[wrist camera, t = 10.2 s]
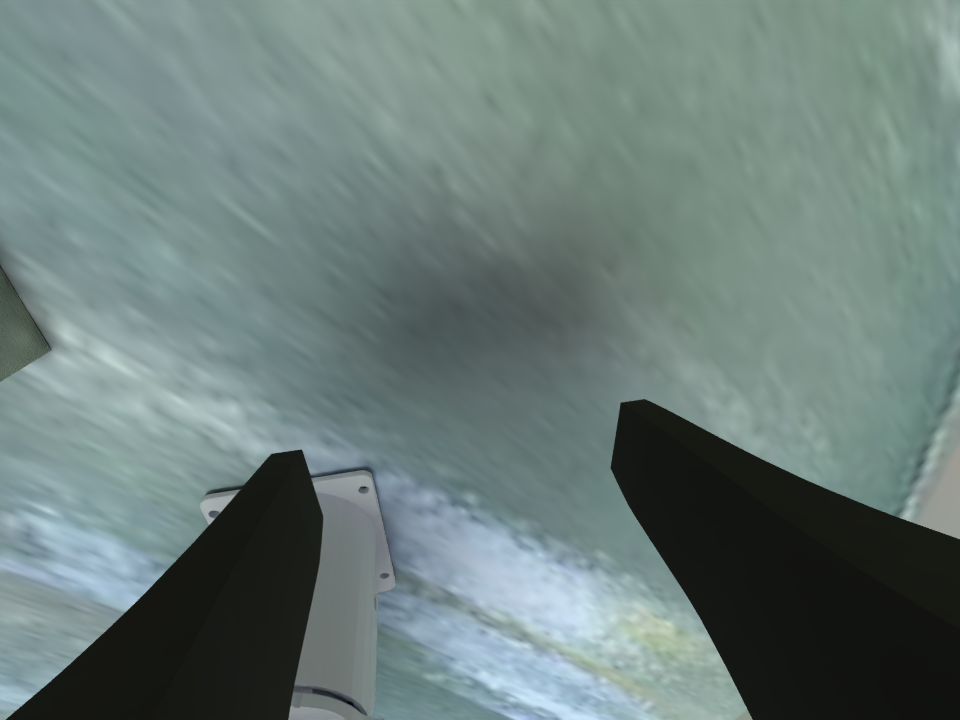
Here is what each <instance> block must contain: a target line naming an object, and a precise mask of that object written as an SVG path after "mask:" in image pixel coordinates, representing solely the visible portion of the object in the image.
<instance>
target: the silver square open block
mask: <svg viewBox="0 0 960 720" xmlns="http://www.w3.org/2000/svg"><path fill="white" fill-rule="evenodd" d="M49 351H51V349H50V348H49V346H48V344H47V343H46V341H45V339H44V338H43V336H42V334H41V333H40V331H39V330H38V328H37V326H36V325H35V323H34V321H33V320H32V318H31V317H30V315H29V313H28V312H27V310H26V308H25V307H24V305H23V304H22V302H21V300H20V299H19V297H18V295H17V294H16V292H15V290H14V289H13V287H12V286H11V284H10V282H9V281H8V279H7V277H6V276H5V274H4V273H3V271H2V269H1V268H0V382H1V381H3V380H4V379H6V378H7V377H9V376H11V375H12V374H14V373H15V372H17V371H19V370H20V369H22V368H23V367H25V366H27V365H28V364H30V363H32V362H33V361H35V360H36V359H38V358H40V357H41V356H43V355H44V354H46V353H48V352H49Z"/></svg>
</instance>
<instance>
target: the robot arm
mask: <svg viewBox="0 0 960 720" xmlns="http://www.w3.org/2000/svg"><path fill="white" fill-rule="evenodd" d="M611 470H612V472H613V474H614V476H615V478H616V481H617V483H618V485H619V487H620V489H621V491H622V493H623V495H624V497H625V499H626V501H627V503H628V505H629V507H630V509H631V510H632V512H633V514H634V515H635V517H636V518H637V520H638V521H639V523H640V525H641V526H642V528H643V529H644V531H645V532H646V534H647V535H648V537H649V539H650V540H651V542H652V543H653V545H654V546H655V548H656V549H657V551H658V552H659V554H660V555H661V557H662V558H663V560H664V562H665V563H666V565H667V566H668V568H669V569H670V571H671V572H672V574H673V575H674V577H675V578H676V580H677V582H678V583H679V585H680V586H681V588H682V589H683V591H684V592H685V594H686V595H687V597H688V599H689V600H690V602H691V604H692V605H693V607H694V609H695V610H696V612H697V614H698V615H699V617H700V619H701V620H702V622H703V624H704V626H705V628H706V630H707V632H708V634H709V635H710V637H711V639H712V641H713V643H714V645H715V647H716V649H717V650H718V652H719V654H720V656H721V658H722V660H723V662H724V664H725V666H726V667H727V669H728V671H729V673H730V675H731V677H732V679H733V681H734V683H735V685H736V687H737V689H738V691H739V693H740V695H741V697H742V699H743V701H744V703H745V705H746V707H747V709H748V711H749V713H750V715H751V717H752V719H753V720H960V539H957V538H954V537H951V536H949V535H946V534H943V533H940V532H937V531H934V530H932V529H929V528H926V527H923V526H920V525H918V524H915V523H912V522H909V521H906V520H903V519H901V518H898V517H895V516H893V515H890V514H887V513H885V512H882V511H879V510H877V509H874V508H872V507H869V506H867V505H864V504H862V503H859V502H857V501H855V500H852V499H850V498H847V497H845V496H842V495H840V494H837V493H835V492H833V491H830V490H828V489H825V488H823V487H821V486H818V485H816V484H814V483H812V482H809V481H807V480H805V479H803V478H800V477H798V476H796V475H794V474H792V473H790V472H788V471H786V470H783V469H781V468H779V467H777V466H775V465H773V464H771V463H769V462H766V461H764V460H762V459H760V458H758V457H756V456H754V455H752V454H750V453H748V452H746V451H744V450H742V449H740V448H738V447H737V446H735V445H733V444H731V443H729V442H727V441H725V440H723V439H721V438H719V437H717V436H715V435H714V434H712V433H710V432H708V431H706V430H704V429H702V428H700V427H699V426H697V425H695V424H693V423H691V422H689V421H687V420H685V419H684V418H682V417H680V416H678V415H676V414H674V413H672V412H670V411H668V410H666V409H664V408H662V407H660V406H658V405H656V404H654V403H652V402H650V401H648V400H645V399H643V400H636V401H629V402H622V403H621V405H620V411H619V418H618V424H617V431H616V437H615V443H614V450H613V456H612V463H611ZM362 486H366V487H367V488H361V487H362ZM199 506H200V509H201V511H202V513H203V515H204V517H205V519H206V520H207V522H208V524H209V526H208V527H207V528H206V529H205V530H204V532H203V533H202V534H201V535H200V536H199V537H198V538H197V539H196V541H195V542H194V543H193V544H192V545H191V546H190V547H189V548H188V549H187V550H186V551H185V552H184V553H183V554H182V555H181V556H180V557H179V558H178V559H177V561H176V562H175V563H174V564H173V565H172V566H171V567H170V568H169V569H168V570H167V571H166V572H165V573H164V574H163V575H162V576H161V577H160V578H159V579H158V580H157V581H156V582H155V583H154V584H153V586H152V587H151V588H150V589H149V590H148V591H147V592H146V593H145V594H144V595H143V596H142V597H141V598H140V599H139V600H138V601H137V602H136V603H135V604H134V605H133V606H132V607H131V608H130V609H129V610H128V611H127V612H126V613H124V614H123V615H122V616H121V617H120V618H119V619H118V620H117V621H116V622H115V623H114V624H113V625H112V626H111V627H110V628H109V629H108V630H107V631H106V632H104V633H103V634H102V635H101V636H100V637H99V638H98V639H97V640H96V641H95V642H94V643H93V644H91V645H90V646H89V647H88V648H87V649H86V650H85V651H84V652H83V653H82V654H81V655H80V656H78V657H77V658H76V659H75V660H74V661H73V662H72V663H71V664H70V665H69V666H67V667H66V668H65V669H64V670H63V671H62V672H61V673H60V674H59V675H57V676H56V677H55V678H54V679H53V680H52V681H51V682H49V683H48V684H47V685H46V686H45V687H44V688H42V689H41V690H40V691H39V692H38V693H37V694H35V695H34V696H33V697H32V698H31V699H29V700H28V701H27V702H26V703H25V704H24V705H22V706H21V707H20V708H19V709H18V710H16V711H15V712H14V713H13V714H12V715H11V716H9V717H8V718H7V719H6V720H384V719H380V718H373V717H371V716H372V713H373V708H374V703H375V692H376V660H377V627H378V594H379V592H384V591H389V590H391V589H393V588H394V587H395V575H394V571H393V566H392V562H391V557H390V553H389V548H388V544H387V540H386V535H385V531H384V526H383V522H382V517H381V513H380V508H379V504H378V499H377V495H376V490H375V486H374V481H373V477H372V474H371V473H370V472H368V471H365V470H360V471H354V472H348V473H341V474H335V475H329V476H322V477H316V478H311V476H310V473H309V470H308V467H307V464H306V461H305V458H304V454H303V451H302V450H295V451H288V452H282V453H275V454H271V455H270V456H269V457H268V458H267V460H266V461H265V462H264V463H263V464H262V465H261V466H260V468H259V469H258V470H257V471H256V472H255V473H254V474H253V476H252V477H251V478H250V479H249V480H248V481H247V483H246V484H245V485H244V486H243V487H242V488H241V489H239V490H233V491H227V492H220V493H214V494H209V495H206V496H205V497H203V499H202V501H201V503H200V505H199ZM216 511H218V512H216Z"/></svg>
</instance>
